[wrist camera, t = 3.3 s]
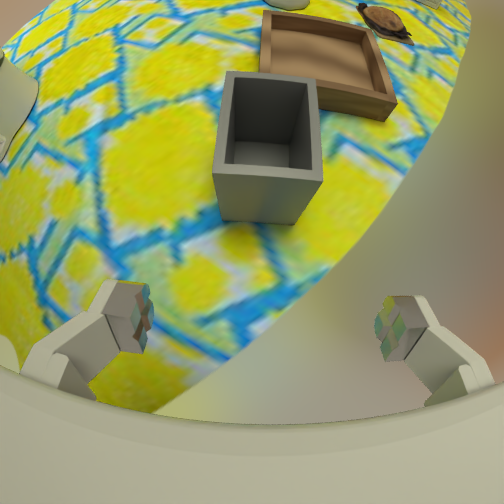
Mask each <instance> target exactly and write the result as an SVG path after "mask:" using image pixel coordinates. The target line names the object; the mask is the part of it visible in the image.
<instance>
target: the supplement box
mask: <svg viewBox="0 0 504 504" xmlns="http://www.w3.org/2000/svg"><path fill="white" fill-rule="evenodd" d="M416 1H418V2H421V3H423V4H425V5H428V6H430V7H432V8H434V9H437V8H438V6H439V5H440V3H441V1H442V0H416Z"/></svg>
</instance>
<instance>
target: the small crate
mask: <svg viewBox="0 0 504 504" xmlns="http://www.w3.org/2000/svg"><path fill="white" fill-rule="evenodd" d="M212 175H213V180H214V185H215V190H216V195H217V199H218V204H219V209H220V214H221V218H222V221H240V222H257V223H272V224H287V225H294V224H295V223H296V221H297V220H298V218H299V217H300V215H301V214H302V212H303V211H304V209H305V208H306V206H307V205H308V203H309V202H310V200H311V199H312V197H313V196H314V194H315V193H316V191H317V190H318V188H319V187H320V185H321V184H322V182H323V166H322V148H321V133H320V120H319V109H318V98H317V89H316V80H315V79H313V78H306V77H298V76H290V75H281V74H271V73H258V72H239V71H226V77H225V83H224V89H223V96H222V102H221V109H220V116H219V123H218V130H217V138H216V145H215V153H214V161H213V169H212Z"/></svg>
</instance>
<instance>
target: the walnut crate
mask: <svg viewBox="0 0 504 504" xmlns="http://www.w3.org/2000/svg"><path fill="white" fill-rule="evenodd" d="M259 73H271V74H281V75H290V76H298V77H306V78H313V79H315V80H316V89H317V98H318V109H323V110H329V111H335V112H341V113H346V114H351V115H356V116H361V117H366V118H371V119H375V120H379V121H383V122H385V120H386V119H387V118H388V116H389V115H390V114H391V112H392V111H393V110H394V108H395V107H396V106H397V104H398V103H397V100H396V96H395V93H394V90H393V86H392V83H391V80H390V77H389V74H388V71H387V68H386V65H385V63H384V60H383V57H382V55H381V52H380V49H379V47H378V44H377V42H376V39H375V37H374V35H373V32H372V30H371V29H368V28H364V27H361V26H357V25H353V24H349V23H345V22H340V21H336V20H331V19H326V18H321V17H316V16H310V15H303V14H296V13H289V12H280V11H269V10H263V19H262V30H261V46H260V62H259Z"/></svg>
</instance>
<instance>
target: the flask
mask: <svg viewBox="0 0 504 504" xmlns="http://www.w3.org/2000/svg"><path fill="white" fill-rule="evenodd" d="M264 1H266V2H267V3H268V4H270V5H271V6H275V7H279V8H283V9H287V10H294V9H302V8H305V7H306V6H307V5H308V4H309V3H310V0H264Z"/></svg>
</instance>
